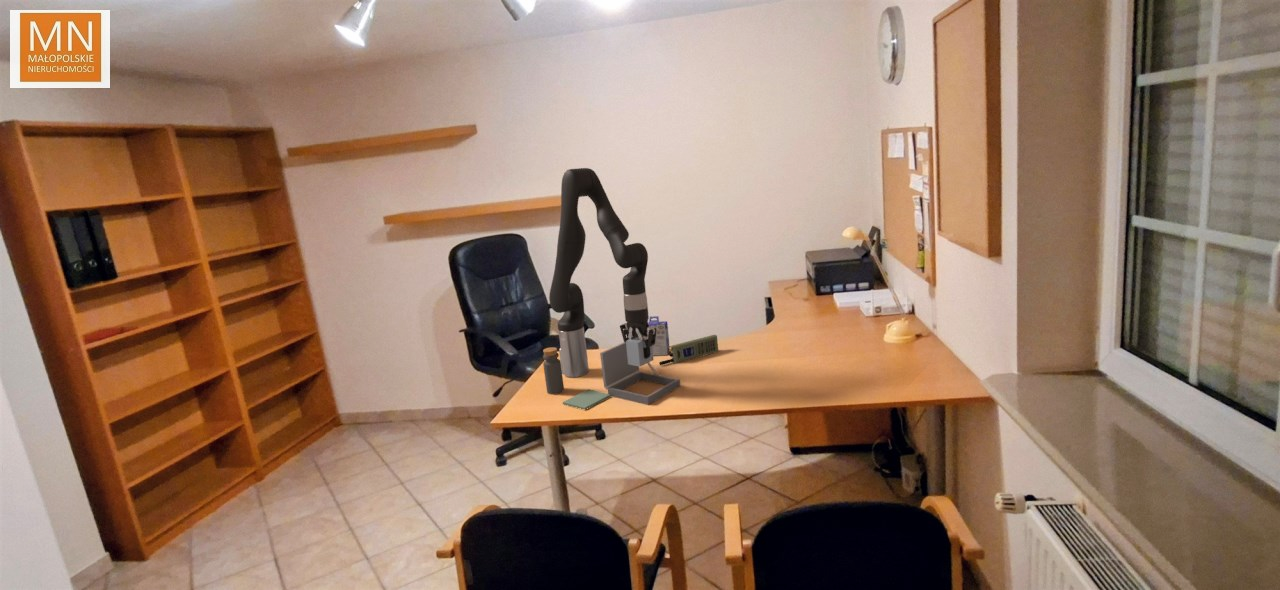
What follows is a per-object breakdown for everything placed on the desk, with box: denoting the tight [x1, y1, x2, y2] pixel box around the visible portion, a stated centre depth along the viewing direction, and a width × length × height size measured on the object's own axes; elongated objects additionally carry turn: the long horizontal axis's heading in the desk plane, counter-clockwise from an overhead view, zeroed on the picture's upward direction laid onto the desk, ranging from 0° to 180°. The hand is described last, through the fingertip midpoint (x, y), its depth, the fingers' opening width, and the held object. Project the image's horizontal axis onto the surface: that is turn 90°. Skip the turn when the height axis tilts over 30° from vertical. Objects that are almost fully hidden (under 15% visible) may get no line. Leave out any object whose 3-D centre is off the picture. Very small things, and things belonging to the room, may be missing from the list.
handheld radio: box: [658, 334, 719, 366], centre depth 234 cm, size 7×3×25 cm
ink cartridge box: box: [647, 315, 671, 356], centre depth 243 cm, size 10×6×14 cm, turn 79°
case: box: [599, 341, 681, 406], centre depth 207 cm, size 18×18×14 cm
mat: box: [562, 388, 612, 410], centre depth 205 cm, size 10×12×1 cm
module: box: [626, 336, 654, 368], centre depth 205 cm, size 5×7×8 cm
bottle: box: [542, 347, 565, 395], centre depth 214 cm, size 6×6×15 cm
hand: (640, 356), depth 205 cm, fingers closed on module, 5 cm apart
